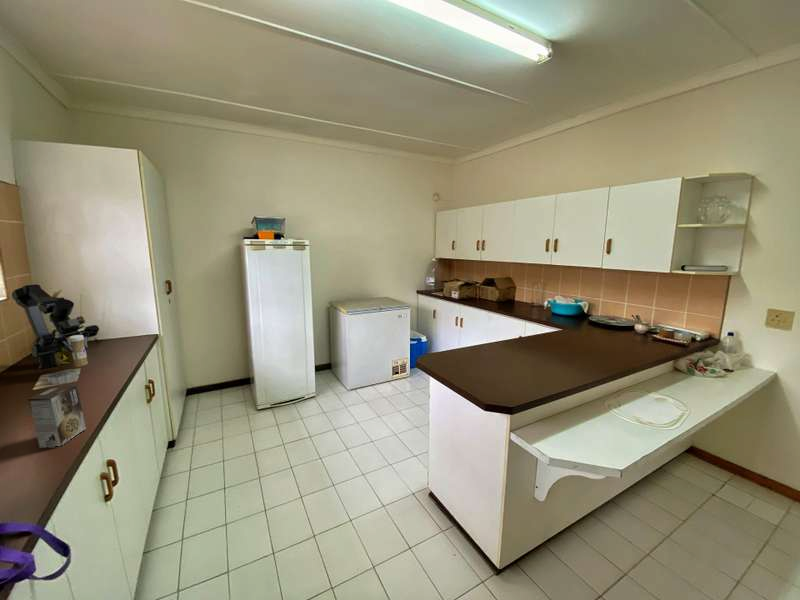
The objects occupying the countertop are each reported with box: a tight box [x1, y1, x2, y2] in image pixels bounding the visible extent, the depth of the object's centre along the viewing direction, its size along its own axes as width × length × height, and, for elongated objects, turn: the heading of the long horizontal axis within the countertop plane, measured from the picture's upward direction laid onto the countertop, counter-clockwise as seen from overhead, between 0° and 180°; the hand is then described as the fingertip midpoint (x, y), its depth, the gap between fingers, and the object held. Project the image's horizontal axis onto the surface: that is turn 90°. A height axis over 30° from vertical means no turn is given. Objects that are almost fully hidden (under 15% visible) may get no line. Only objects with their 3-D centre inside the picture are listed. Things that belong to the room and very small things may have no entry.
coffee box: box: [28, 384, 87, 449], centre depth 101 cm, size 9×6×16 cm
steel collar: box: [47, 368, 79, 385], centre depth 142 cm, size 9×9×3 cm
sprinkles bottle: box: [68, 335, 89, 368], centre depth 144 cm, size 5×5×13 cm
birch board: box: [32, 368, 82, 390], centre depth 144 cm, size 18×13×1 cm
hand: (80, 350), depth 144 cm, fingers closed on sprinkles bottle, 4 cm apart
